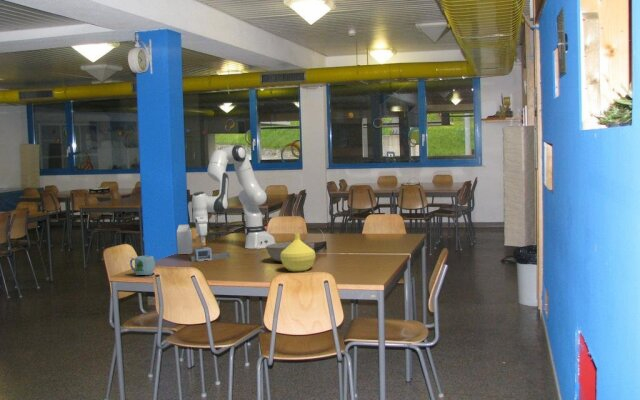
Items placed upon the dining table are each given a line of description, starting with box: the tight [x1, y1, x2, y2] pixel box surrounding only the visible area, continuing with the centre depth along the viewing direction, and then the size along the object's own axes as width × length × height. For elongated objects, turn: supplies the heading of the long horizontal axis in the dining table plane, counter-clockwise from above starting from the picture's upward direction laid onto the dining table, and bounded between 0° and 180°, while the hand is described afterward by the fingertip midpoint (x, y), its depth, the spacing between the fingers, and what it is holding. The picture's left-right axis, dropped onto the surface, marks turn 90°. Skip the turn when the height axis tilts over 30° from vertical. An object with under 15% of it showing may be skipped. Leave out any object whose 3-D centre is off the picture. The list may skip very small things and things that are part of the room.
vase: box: [280, 232, 316, 273], centre depth 350 cm, size 18×18×19 cm
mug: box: [129, 254, 156, 276], centre depth 361 cm, size 15×11×10 cm
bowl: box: [265, 241, 315, 263], centre depth 383 cm, size 28×28×10 cm
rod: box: [190, 252, 231, 262], centre depth 404 cm, size 23×3×3 cm, turn 108°
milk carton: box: [176, 224, 194, 256], centre depth 431 cm, size 7×7×19 cm
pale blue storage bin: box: [193, 246, 213, 262], centre depth 403 cm, size 9×9×7 cm
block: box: [195, 235, 206, 247], centre depth 402 cm, size 5×5×5 cm
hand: (201, 242), depth 402 cm, fingers closed on block, 5 cm apart
